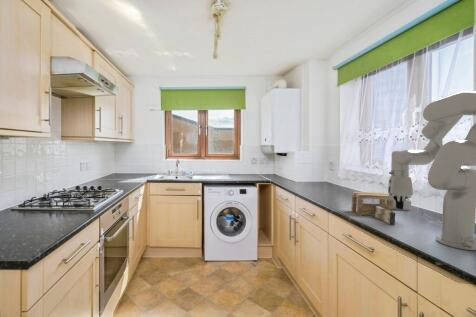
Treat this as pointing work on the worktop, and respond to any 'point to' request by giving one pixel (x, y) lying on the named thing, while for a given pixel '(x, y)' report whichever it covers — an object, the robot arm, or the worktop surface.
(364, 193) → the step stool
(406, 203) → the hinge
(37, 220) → the worktop surface
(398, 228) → the worktop surface
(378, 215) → the mottled brown block
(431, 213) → the worktop surface
